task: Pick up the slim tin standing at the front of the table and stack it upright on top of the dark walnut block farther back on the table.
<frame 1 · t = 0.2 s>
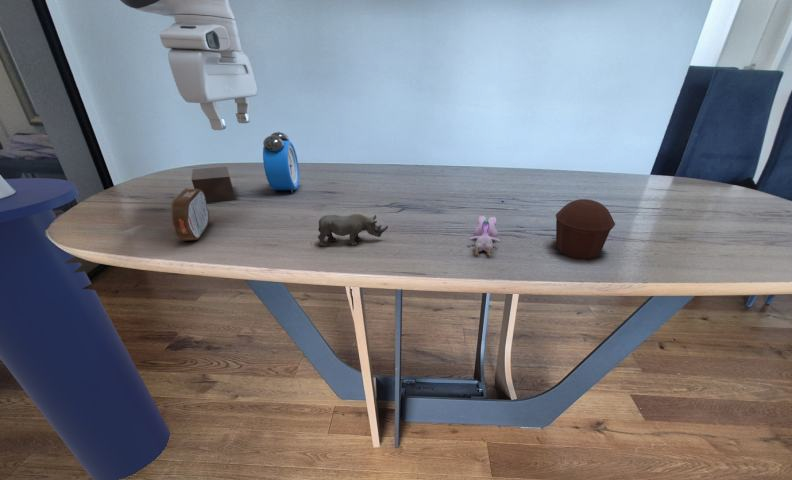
hand: (232, 126, 69), 21 cm above the table, tool pointing down, fingers open, 8 cm apart
rhino figurine: (354, 243, 75), on the table
walnut block: (217, 195, 98), on the table
muffin: (578, 250, 75), on the table
rabbit figure: (484, 242, 77), on the table
alarm clock: (286, 190, 105), on the table
tin: (199, 233, 77), on the table
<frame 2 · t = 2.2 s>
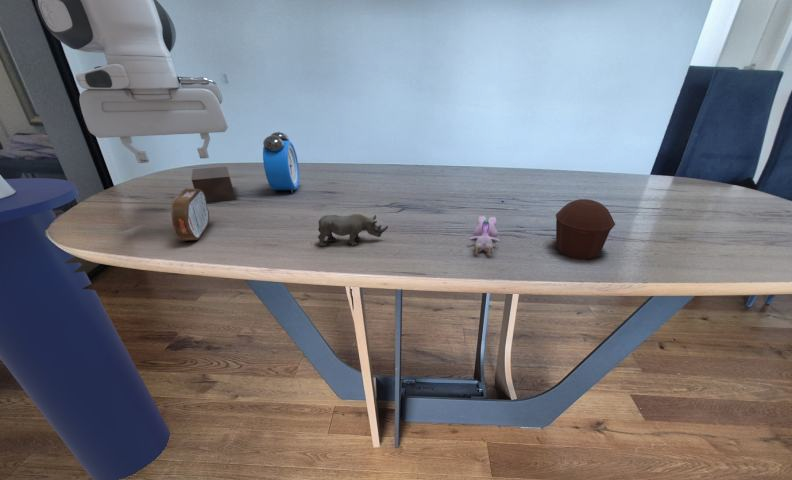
hand: (175, 160, 69), 15 cm above the table, tool pointing down, fingers open, 8 cm apart
nothing on the table moved.
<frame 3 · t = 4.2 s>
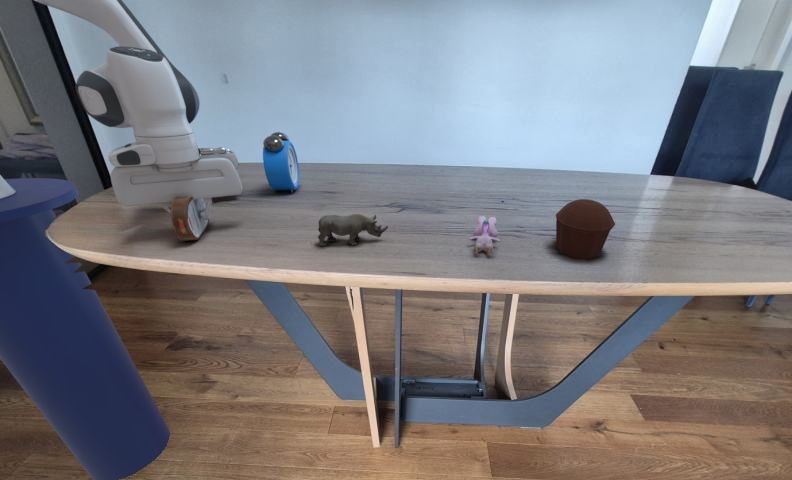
hand: (194, 220, 75), 3 cm above the table, tool pointing down, fingers closed on tin, 3 cm apart
tin: (199, 233, 77), on the table, touching gripper
everything else where it was.
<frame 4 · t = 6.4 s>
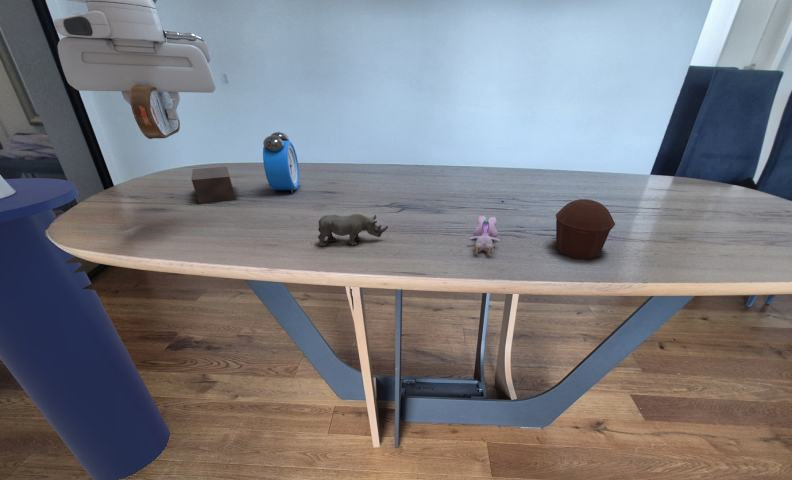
hand: (159, 119, 67), 22 cm above the table, tool pointing down, fingers closed on tin, 3 cm apart
tin: (167, 136, 68), point 19 cm above the table, touching gripper
everything else where it was.
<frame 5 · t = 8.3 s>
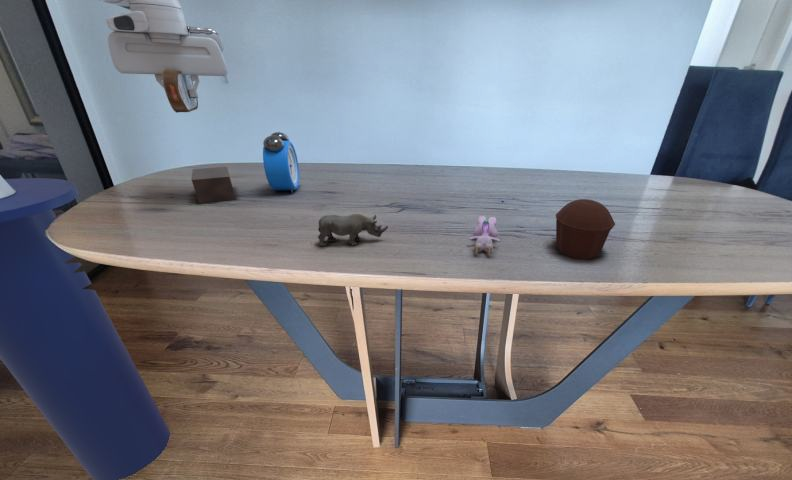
hand: (183, 98, 83), 24 cm above the table, tool pointing down, fingers closed on tin, 3 cm apart
tin: (189, 112, 85), point 21 cm above the table, touching gripper
everything else where it was.
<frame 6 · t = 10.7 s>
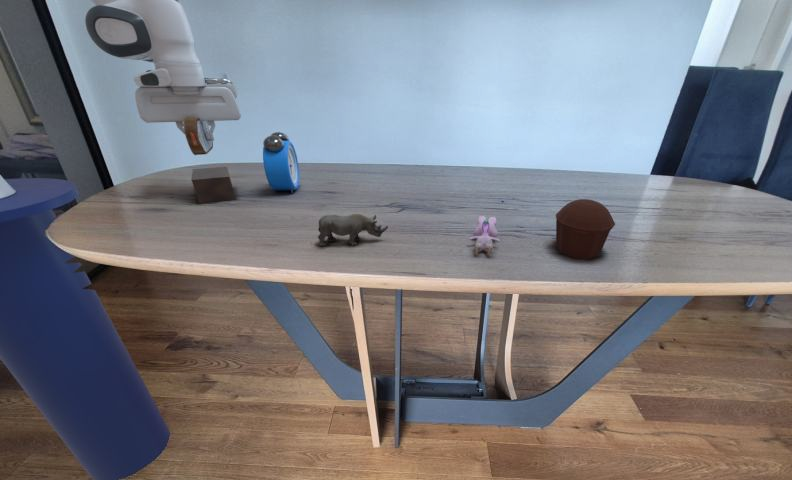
hand: (200, 140, 92), 14 cm above the table, tool pointing down, fingers closed on tin, 3 cm apart
tin: (206, 152, 93), point 11 cm above the table, touching gripper
everything else where it was.
when the fingers open (9 cm above the table, at t = 12.3 s): tin stays where it is, resting on walnut block.
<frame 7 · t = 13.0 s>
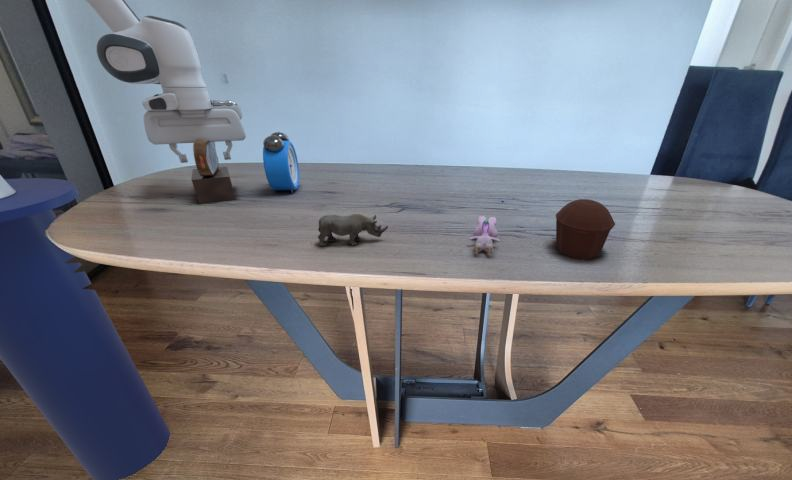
hand: (206, 160, 94), 9 cm above the table, tool pointing down, fingers open, 8 cm apart
walnut block: (217, 195, 98), on the table, touching tin
tin: (212, 173, 96), point 6 cm above the table, touching walnut block
everything else where it was.
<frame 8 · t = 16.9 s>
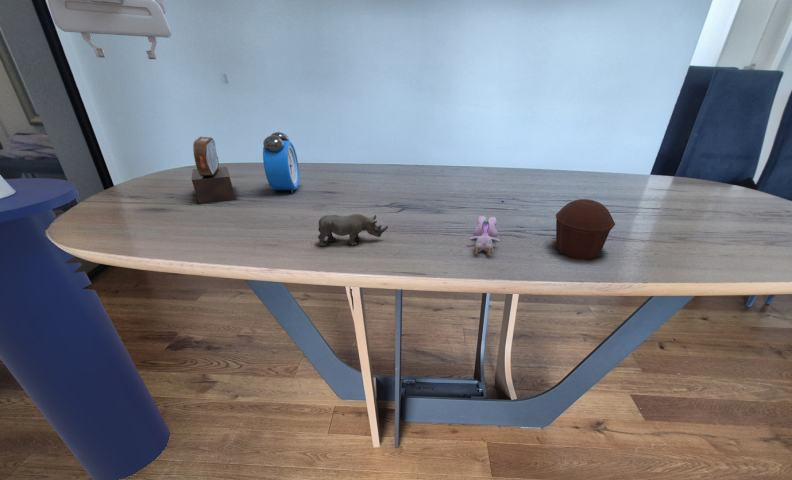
hand: (128, 58, 86), 31 cm above the table, tool pointing down, fingers open, 8 cm apart
nothing on the table moved.
at the end: tin inside the target area on the walnut block (0.3 cm from its centre), point 5.8 cm above the walnut block's base; tin tilted 0°; tin touching walnut block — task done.
